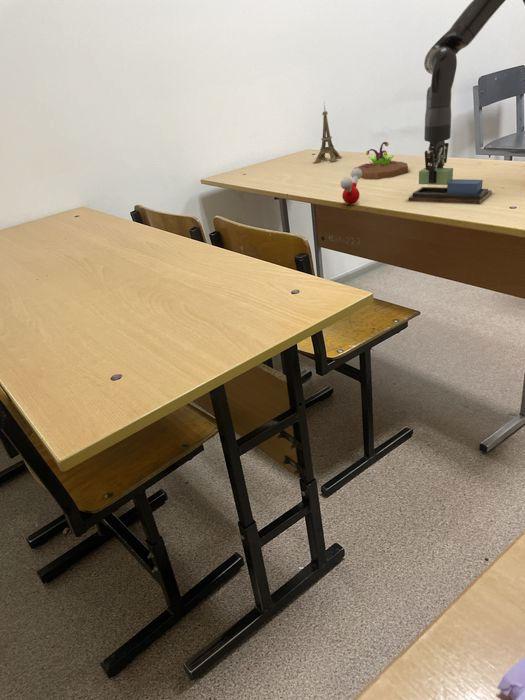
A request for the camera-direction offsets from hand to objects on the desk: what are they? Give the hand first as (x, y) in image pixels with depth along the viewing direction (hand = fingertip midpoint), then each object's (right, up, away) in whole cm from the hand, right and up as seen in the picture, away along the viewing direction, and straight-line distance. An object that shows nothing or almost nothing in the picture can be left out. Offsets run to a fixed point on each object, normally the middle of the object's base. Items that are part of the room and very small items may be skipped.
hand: (435, 180), depth 167 cm
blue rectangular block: (+8, -5, -3) cm, 10 cm away
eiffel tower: (-24, +35, +80) cm, 90 cm away
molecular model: (-25, -5, +8) cm, 27 cm away
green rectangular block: (0, -1, 0) cm, 1 cm away
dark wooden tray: (+4, -5, 0) cm, 7 cm away
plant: (-7, +17, +43) cm, 47 cm away
